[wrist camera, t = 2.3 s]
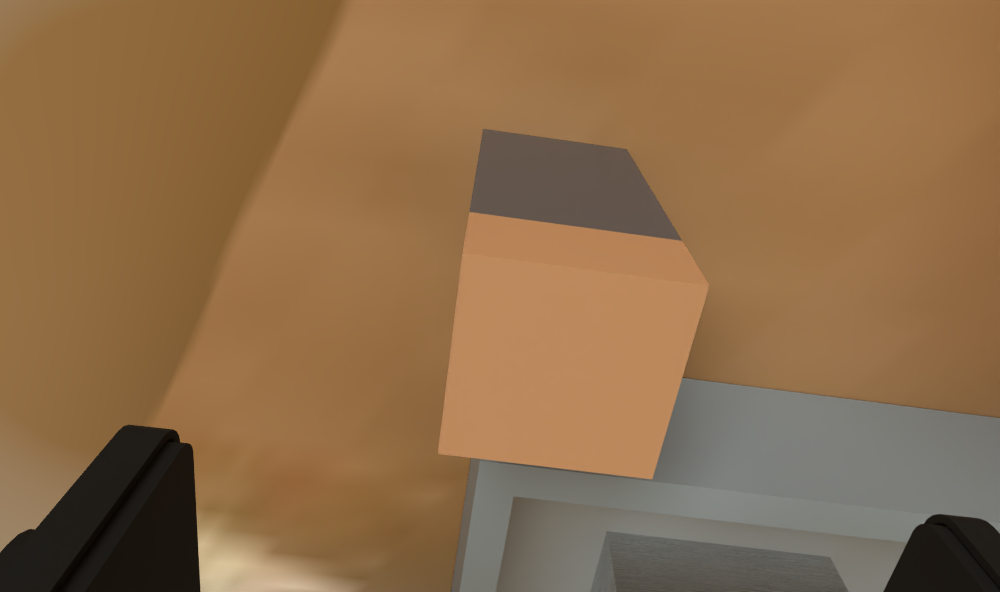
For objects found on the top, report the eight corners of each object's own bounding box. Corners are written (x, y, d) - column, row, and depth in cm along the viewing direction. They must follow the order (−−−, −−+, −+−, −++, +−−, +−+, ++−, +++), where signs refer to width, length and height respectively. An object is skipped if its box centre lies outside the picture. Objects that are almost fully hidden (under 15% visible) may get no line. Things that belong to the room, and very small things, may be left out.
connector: (483, 128, 19) (462, 253, 11) (626, 149, 19) (709, 286, 11) (466, 262, 21) (438, 453, 13) (598, 279, 21) (652, 479, 13)
